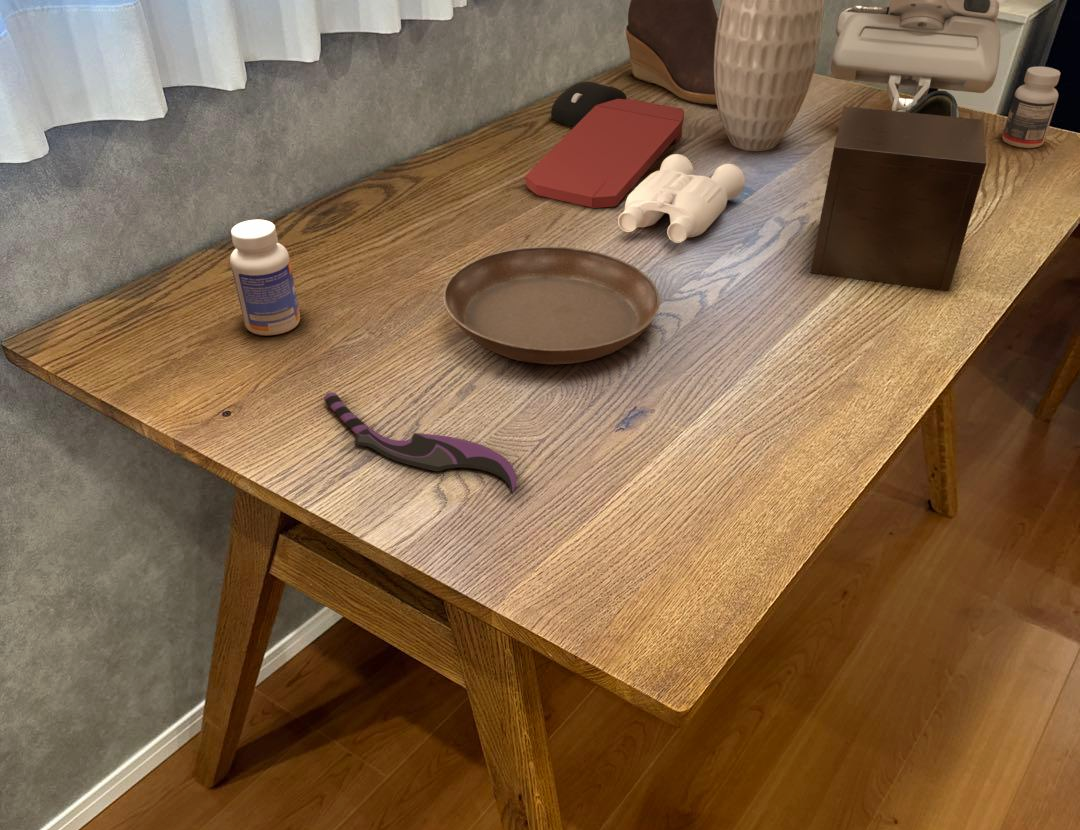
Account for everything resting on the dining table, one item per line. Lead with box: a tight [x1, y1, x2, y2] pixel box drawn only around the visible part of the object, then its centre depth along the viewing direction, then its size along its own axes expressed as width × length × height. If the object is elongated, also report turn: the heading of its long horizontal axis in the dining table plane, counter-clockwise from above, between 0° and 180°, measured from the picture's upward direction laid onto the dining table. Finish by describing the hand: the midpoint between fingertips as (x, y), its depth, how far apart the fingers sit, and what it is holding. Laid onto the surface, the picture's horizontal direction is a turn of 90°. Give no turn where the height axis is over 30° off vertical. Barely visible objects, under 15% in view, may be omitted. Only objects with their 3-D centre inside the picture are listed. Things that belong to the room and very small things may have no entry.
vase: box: [714, 0, 825, 152], centre depth 125 cm, size 13×13×28 cm
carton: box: [524, 98, 685, 209], centre depth 128 cm, size 12×5×25 cm
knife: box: [323, 391, 518, 493], centre depth 84 cm, size 21×1×5 cm
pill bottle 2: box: [1001, 66, 1061, 149], centre depth 132 cm, size 5×5×9 cm
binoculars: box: [617, 153, 746, 244], centre depth 115 cm, size 10×16×5 cm, turn 153°
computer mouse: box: [550, 81, 628, 128], centre depth 141 cm, size 8×12×4 cm, turn 139°
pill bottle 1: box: [229, 219, 301, 336], centre depth 96 cm, size 5×5×10 cm
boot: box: [625, 0, 718, 105], centre depth 143 cm, size 9×24×20 cm, turn 47°
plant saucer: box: [442, 246, 661, 365], centre depth 98 cm, size 21×21×3 cm
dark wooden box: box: [809, 105, 987, 292], centre depth 105 cm, size 14×12×13 cm
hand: (902, 115), depth 130 cm, fingers closed
